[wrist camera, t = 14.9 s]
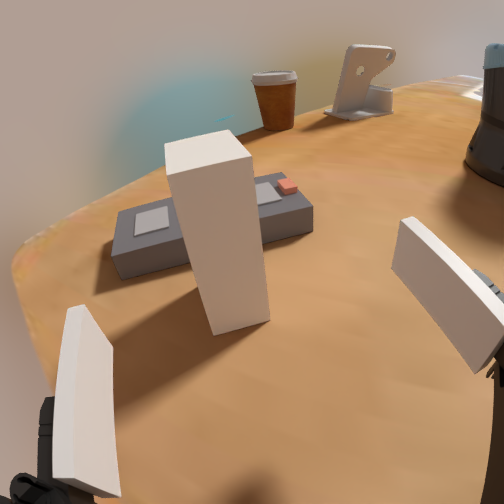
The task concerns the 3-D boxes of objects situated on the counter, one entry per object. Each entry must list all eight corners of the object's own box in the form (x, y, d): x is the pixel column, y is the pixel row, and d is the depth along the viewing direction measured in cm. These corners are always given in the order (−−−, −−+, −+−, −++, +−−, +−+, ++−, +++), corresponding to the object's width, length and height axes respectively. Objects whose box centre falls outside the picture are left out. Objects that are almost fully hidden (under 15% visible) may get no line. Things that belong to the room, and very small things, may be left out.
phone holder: (368, 105, 77) (367, 44, 66) (396, 113, 70) (397, 47, 59) (322, 113, 72) (318, 43, 61) (351, 121, 64) (349, 44, 53)
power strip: (283, 193, 40) (281, 166, 37) (313, 231, 33) (313, 199, 30) (126, 232, 37) (116, 206, 34) (121, 280, 30) (108, 250, 27)
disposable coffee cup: (303, 131, 60) (299, 73, 53) (255, 134, 61) (248, 77, 54) (299, 120, 67) (295, 69, 60) (257, 122, 68) (251, 72, 61)
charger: (249, 270, 29) (228, 128, 21) (270, 320, 24) (251, 155, 16) (200, 283, 28) (164, 143, 20) (213, 335, 23) (166, 175, 16)
